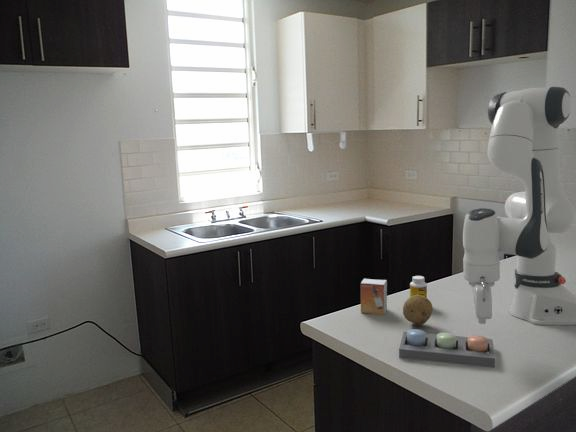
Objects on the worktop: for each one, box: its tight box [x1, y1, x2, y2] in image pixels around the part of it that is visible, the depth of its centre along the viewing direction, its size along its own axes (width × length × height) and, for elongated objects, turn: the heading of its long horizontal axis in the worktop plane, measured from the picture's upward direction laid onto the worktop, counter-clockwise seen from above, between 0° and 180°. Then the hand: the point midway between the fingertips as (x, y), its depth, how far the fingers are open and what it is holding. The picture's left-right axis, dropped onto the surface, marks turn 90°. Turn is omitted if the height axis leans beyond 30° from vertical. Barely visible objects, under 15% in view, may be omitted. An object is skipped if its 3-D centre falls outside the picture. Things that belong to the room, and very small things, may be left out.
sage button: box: [436, 332, 457, 350], centre depth 137 cm, size 5×5×3 cm
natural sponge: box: [402, 295, 434, 327], centre depth 156 cm, size 9×9×10 cm
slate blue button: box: [406, 328, 427, 347], centre depth 140 cm, size 5×5×3 cm
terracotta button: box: [467, 334, 489, 353], centre depth 135 cm, size 5×5×3 cm
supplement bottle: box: [409, 275, 428, 299], centre depth 173 cm, size 6×6×10 cm
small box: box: [360, 278, 388, 316], centre depth 170 cm, size 8×6×10 cm
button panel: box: [398, 331, 496, 368], centre depth 138 cm, size 24×12×2 cm, turn 71°
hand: (481, 321), depth 134 cm, fingers closed
